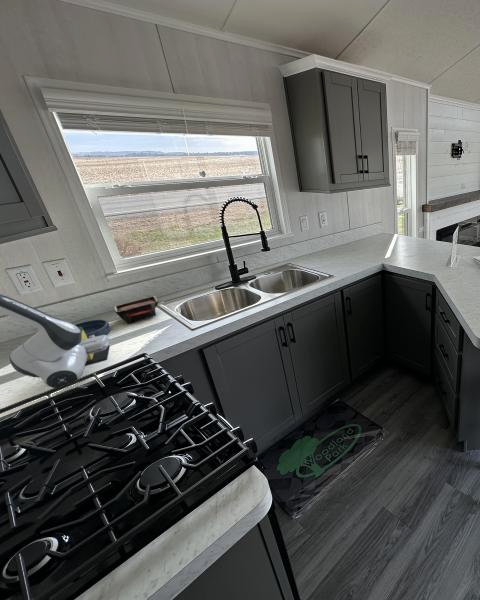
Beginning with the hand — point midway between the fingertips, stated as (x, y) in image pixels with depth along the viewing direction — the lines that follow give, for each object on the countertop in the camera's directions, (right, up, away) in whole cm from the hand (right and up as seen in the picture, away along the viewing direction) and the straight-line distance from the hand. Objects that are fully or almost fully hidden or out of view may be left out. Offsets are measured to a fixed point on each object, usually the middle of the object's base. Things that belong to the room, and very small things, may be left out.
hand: (76, 340), depth 127 cm
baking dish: (-4, +8, +37) cm, 38 cm away
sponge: (0, -7, +4) cm, 8 cm away
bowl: (-15, -1, +20) cm, 25 cm away
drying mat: (0, -8, +4) cm, 9 cm away
